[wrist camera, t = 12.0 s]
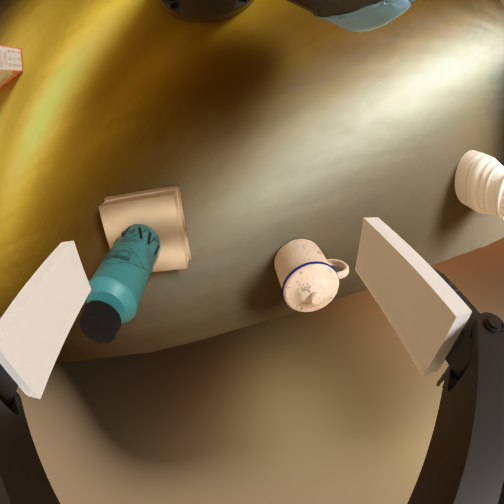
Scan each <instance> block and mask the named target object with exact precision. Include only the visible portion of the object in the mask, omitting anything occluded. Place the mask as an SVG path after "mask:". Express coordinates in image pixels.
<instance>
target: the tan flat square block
mask: <svg viewBox="0 0 504 504" xmlns="http://www.w3.org/2000/svg"><path fill="white" fill-rule="evenodd" d="M104 201H105V202H103V203H102V204H101V205H100V206H99V207H98V208H99V212H100V215H101V219H102V223H103V227H104V230H105V234H106V237H107V241H108V244H109V248H110V249H111V248H112V247H113V245H114V244H115V243H114V242H115V241H116V240H117V238H119V237H120V236H121V234H122V233H121V232H123V231H124V230H125V229H126V228H128V227H129V226H131V225H133V224H144V225H147V226H149V227H150V228H152V229H153V230H154V231H155V232H156V233H157V235H158V237H159V239H160V242H161V243H160V248H161V249H160V251H159V254H158V256H159V257H158V259H156V261H157V262H156V261H155V263H156V264H154V265H155V266H153V269H152V270H153V271H151V272H157V271H167V270H177V269H187V267H188V261H189V260H191V252H190V247H189V241H188V236H187V230H186V224H185V218H184V212H183V206H182V200H181V193H180V187H179V185H176V186H169V187H163V188H156V189H150V190H144V191H138V192H132V193H126V194H121V195H115V196H110V197H106V198H104ZM113 243H114V244H113Z"/></svg>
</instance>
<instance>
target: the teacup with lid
mask: <svg viewBox="0 0 504 504" xmlns="http://www.w3.org/2000/svg"><path fill="white" fill-rule="evenodd" d="M274 266H275V270H276V273H277V276H278V279H279V282H280V285H281V288H282V296H283V299H284V301H285V302H286V304H287V305H289V306H290V307H291V308H293V309H294V310H297V311H301V312H311V311H315V310H318V309H321V308H322V307H324V306H326V305H327V304H328V303H329V302H330V301H331V300H332V299H333V298H334V297H335V295H336V293H337V291H338V287H339V279H342V278H344V277H346V276H347V275H348V273H349V267H348V265H347V264H346V263H345V262H343V261H341V260H337V259H328V260H327V259H326V258H325V256H324V255H323V253H322V252H321V250H320V249H319V247H318V246H317V245H316V244H315V243H313V242H312V241H309V240H306V239H296V240H293V241H290V242H288V243H286V244H285V245H283V246H282V247H281V248H280V250H279V251H278V253H277V254H276V257H275V261H274ZM332 266H337V267H340V268H342V269H343V271H340V272H336V270H335V269H334V268H333V267H332Z"/></svg>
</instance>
